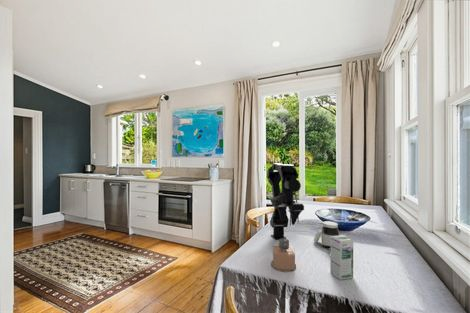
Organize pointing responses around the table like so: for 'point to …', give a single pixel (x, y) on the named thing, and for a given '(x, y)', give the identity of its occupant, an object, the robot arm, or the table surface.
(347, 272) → the syrup box
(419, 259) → the table surface
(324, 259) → the table surface
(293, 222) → the robot arm
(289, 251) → the brown squat piece
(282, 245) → the pump head
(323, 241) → the spread jar
